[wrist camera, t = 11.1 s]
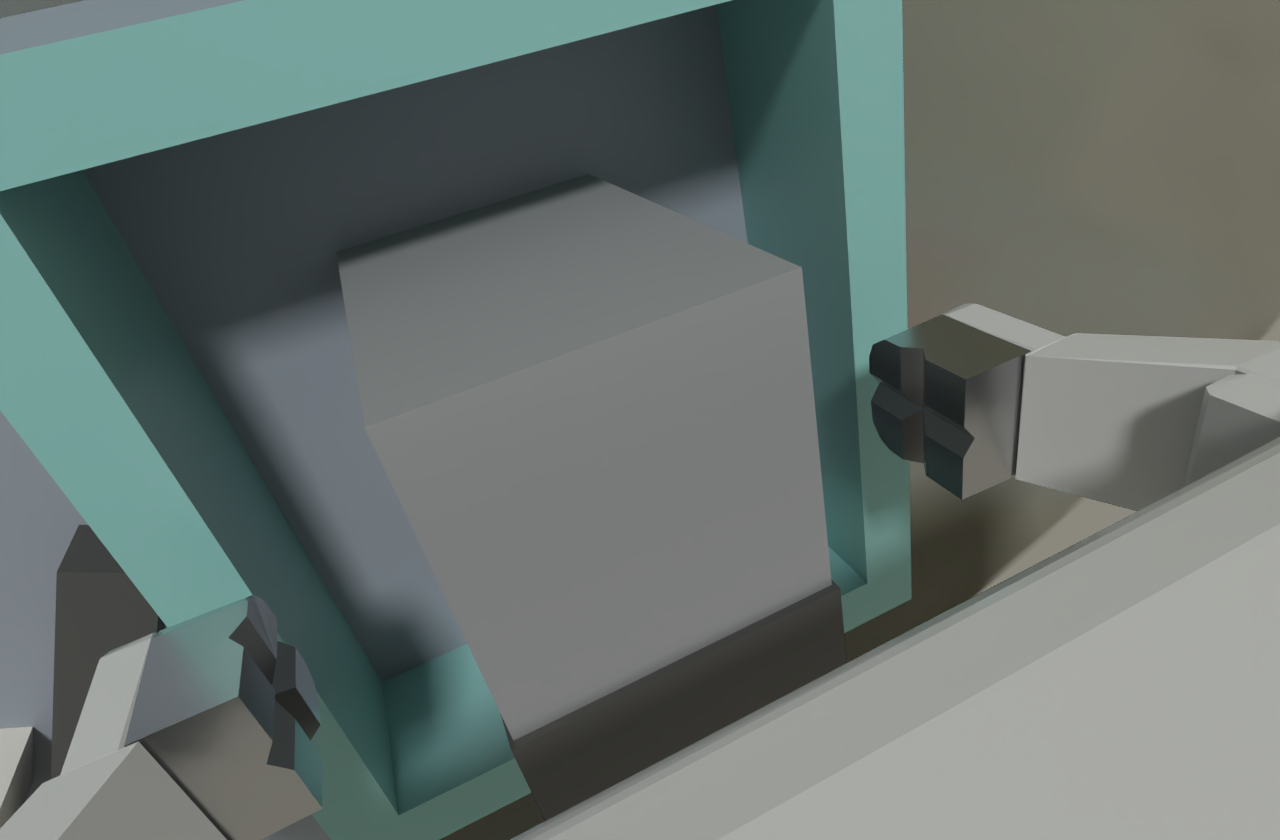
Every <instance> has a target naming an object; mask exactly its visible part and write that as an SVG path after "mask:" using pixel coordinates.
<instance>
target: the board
mask: <svg viewBox="0 0 1280 840" xmlns="http://www.w3.org/2000/svg"><path fill="white" fill-rule="evenodd" d="M239 1H244V0H84V1H80V2H75V3H70V4H66V5H61V6H56V7H51V8H47V9H42V10H37V11H32V12H28V13H23V14H18V15H14V16H9V17H4V18H0V54H5V53H9V52H14V51H18V50H23V49H27V48H32V47H37V46H41V45H46V44H50V43H55V42H59V41H64V40H68V39H73V38H77V37H82V36H86V35H91V34H95V33H100V32H104V31H109V30H113V29H118V28H122V27H127V26H131V25H136V24H140V23H145V22H149V21H154V20H158V19H163V18H167V17H172V16H176V15H181V14H185V13H190V12H194V11H199V10H203V9H208V8H212V7H217V6H221V5H226V4H230V3H235V2H239ZM83 172H84V173H85V175H86V177H87V179H88V180H89V182H90V184H91V185H92V187H93V189H94V191H95V192H96V194H97V196H98V197H99V199H100V201H101V202H102V204H103V206H104V208H105V209H106V211H107V213H108V214H109V216H110V218H111V220H112V221H113V223H114V225H115V226H116V228H117V230H118V232H119V233H120V235H121V237H122V238H123V240H124V242H125V243H126V245H127V247H128V249H129V250H130V252H131V254H132V255H133V257H134V259H135V261H136V262H137V264H138V266H139V267H140V269H141V271H142V273H143V274H144V276H145V278H146V279H147V281H148V283H149V284H150V286H151V288H152V290H153V291H154V293H155V295H156V296H157V298H158V300H159V302H160V303H161V305H162V307H163V308H164V310H165V312H166V314H167V315H168V317H169V319H170V320H171V322H172V324H173V325H174V327H175V329H176V331H177V332H178V334H179V336H180V337H181V339H182V341H183V343H184V344H185V346H186V348H187V349H188V351H189V353H190V355H191V356H192V358H193V360H194V361H195V363H196V365H197V367H198V368H199V370H200V372H201V373H202V375H203V377H204V378H205V380H206V382H207V384H208V385H209V387H210V389H211V390H212V392H213V394H214V396H215V397H216V399H217V401H218V402H219V404H220V406H221V408H222V409H223V411H224V413H225V414H226V416H227V418H228V419H229V421H230V423H231V425H232V426H233V428H234V430H235V431H236V433H237V435H238V437H239V438H240V440H241V442H242V443H243V445H244V447H245V449H246V450H247V452H248V454H249V455H250V457H251V459H252V460H253V462H254V464H255V466H256V467H257V469H258V471H259V472H260V474H261V476H262V478H263V479H264V481H265V483H266V484H267V486H268V488H269V490H270V491H271V493H272V495H273V496H274V498H275V500H276V502H277V503H278V505H279V507H280V508H281V510H282V512H283V513H284V515H285V517H286V519H287V520H288V522H289V524H290V525H291V527H292V529H293V531H294V532H295V534H296V536H297V537H298V539H299V541H300V543H301V544H302V546H303V548H304V549H305V551H306V553H307V554H308V556H309V558H310V560H311V561H312V563H313V565H314V566H315V568H316V570H317V572H318V573H319V575H320V577H321V578H322V580H323V582H324V584H325V585H326V587H327V589H328V590H329V592H330V594H331V595H332V597H333V599H334V601H335V602H336V604H337V606H338V607H339V609H340V611H341V613H342V614H343V616H344V618H345V619H346V621H347V623H348V625H349V626H350V628H351V630H352V631H353V633H354V635H355V636H356V638H357V640H358V642H359V643H360V645H361V647H362V648H363V650H364V652H365V654H366V655H367V657H368V659H369V660H370V662H371V664H372V666H373V667H374V669H375V671H376V672H377V674H378V676H379V678H380V679H381V681H382V682H383V681H385V680H387V679H390V678H392V677H394V676H396V675H399V674H401V673H403V672H405V671H407V670H410V669H412V668H414V667H416V666H419V665H421V664H423V663H425V662H427V661H430V660H432V659H434V658H436V657H439V656H441V655H443V654H445V653H447V652H450V651H452V650H454V649H456V648H459V647H461V646H463V645H465V644H467V642H466V640H465V638H464V636H463V634H462V631H461V629H460V627H459V625H458V623H457V621H456V619H455V617H454V615H453V613H452V610H451V608H450V606H449V604H448V602H447V600H446V598H445V596H444V594H443V592H442V589H441V587H440V585H439V583H438V581H437V579H436V577H435V575H434V573H433V570H432V568H431V566H430V564H429V562H428V560H427V558H426V556H425V554H424V552H423V549H422V547H421V545H420V543H419V541H418V539H417V537H416V535H415V533H414V531H413V528H412V526H411V524H410V522H409V520H408V518H407V516H406V514H405V512H404V509H403V507H402V505H401V503H400V501H399V499H398V497H397V495H396V493H395V491H394V488H393V486H392V484H391V482H390V480H389V478H388V476H387V474H386V472H385V470H384V467H383V465H382V463H381V461H380V459H379V457H378V455H377V453H376V451H375V448H374V446H373V444H372V442H371V440H370V438H369V436H368V434H367V432H366V430H365V427H364V420H363V414H362V408H361V402H360V396H359V390H358V384H357V377H356V371H355V365H354V359H353V353H352V347H351V341H350V334H349V328H348V322H347V316H346V310H345V304H344V298H343V291H342V285H341V279H340V273H339V267H338V261H337V255H336V252H338V251H341V250H344V249H348V248H351V247H354V246H357V245H361V244H364V243H367V242H370V241H373V240H377V239H380V238H383V237H386V236H390V235H393V234H396V233H399V232H403V231H406V230H409V229H412V228H416V227H419V226H422V225H425V224H429V223H432V222H435V221H438V220H442V219H445V218H448V217H451V216H455V215H458V214H461V213H464V212H468V211H471V210H474V209H477V208H480V207H484V206H487V205H490V204H493V203H497V202H500V201H503V200H506V199H510V198H513V197H516V196H519V195H523V194H526V193H529V192H532V191H536V190H539V189H542V188H545V187H549V186H552V185H555V184H558V183H562V182H565V181H568V180H571V179H575V178H578V177H581V176H584V175H588V174H590V175H592V176H595V177H597V178H599V179H602V180H604V181H606V182H608V183H611V184H613V185H615V186H617V187H620V188H622V189H624V190H627V191H629V192H631V193H633V194H636V195H638V196H640V197H643V198H645V199H647V200H649V201H652V202H654V203H656V204H659V205H661V206H663V207H665V208H668V209H670V210H672V211H675V212H677V213H679V214H681V215H684V216H686V217H688V218H690V219H693V220H695V221H697V222H700V223H702V224H704V225H706V226H709V227H711V228H713V229H716V230H718V231H720V232H722V233H725V234H727V235H729V236H732V237H734V238H736V239H738V240H741V241H743V242H745V243H747V244H748V242H747V234H746V226H745V219H744V211H743V204H742V196H741V188H740V181H739V173H738V166H737V158H736V150H735V143H734V135H733V128H732V120H731V112H730V105H729V97H728V90H727V82H726V74H725V67H724V59H723V51H722V44H721V36H720V29H719V21H718V13H717V6H716V5H712V6H708V7H704V8H701V9H697V10H693V11H689V12H685V13H681V14H678V15H674V16H670V17H666V18H662V19H658V20H655V21H651V22H647V23H643V24H639V25H635V26H632V27H628V28H624V29H620V30H616V31H612V32H609V33H605V34H601V35H597V36H593V37H589V38H586V39H582V40H578V41H574V42H570V43H567V44H563V45H559V46H555V47H551V48H547V49H544V50H540V51H536V52H532V53H528V54H524V55H521V56H517V57H513V58H509V59H505V60H501V61H498V62H494V63H490V64H486V65H482V66H478V67H475V68H471V69H467V70H463V71H459V72H455V73H452V74H448V75H444V76H440V77H436V78H432V79H429V80H425V81H421V82H417V83H413V84H409V85H406V86H402V87H398V88H394V89H390V90H386V91H383V92H379V93H375V94H371V95H367V96H363V97H360V98H356V99H352V100H348V101H344V102H340V103H337V104H333V105H329V106H325V107H321V108H317V109H314V110H310V111H306V112H302V113H298V114H294V115H291V116H287V117H283V118H279V119H275V120H271V121H268V122H264V123H260V124H256V125H252V126H248V127H245V128H241V129H237V130H233V131H229V132H225V133H222V134H218V135H214V136H210V137H206V138H202V139H199V140H195V141H191V142H187V143H183V144H179V145H176V146H172V147H168V148H164V149H160V150H157V151H153V152H149V153H145V154H141V155H137V156H134V157H130V158H126V159H122V160H118V161H114V162H111V163H107V164H103V165H99V166H95V167H91V168H88V169H84V170H83ZM79 525H88V524H87V522H86V521H85V520H84V519H83V517H82V516H81V515H80V513H79V512H78V511H77V509H76V508H75V507H74V506H73V504H72V503H71V502H70V500H69V499H68V498H67V496H66V495H65V494H64V493H63V491H62V490H61V489H60V487H59V486H58V485H57V484H56V482H55V481H54V480H53V478H52V477H51V476H50V474H49V473H48V472H47V471H46V469H45V468H44V467H43V465H42V464H41V463H40V461H39V460H38V459H37V458H36V456H35V455H34V454H33V452H32V451H31V450H30V448H29V447H28V446H27V445H26V443H25V442H24V441H23V439H22V438H21V437H20V435H19V434H18V433H17V432H16V430H15V429H14V428H13V426H12V425H11V424H10V423H9V421H8V420H7V419H6V417H5V416H4V415H3V413H2V412H1V411H0V828H1V827H2V826H3V825H4V824H5V823H6V822H7V821H8V820H9V819H10V818H11V817H12V816H13V814H14V813H15V812H16V811H17V810H18V809H19V808H20V807H21V806H22V805H23V804H24V803H25V802H26V801H27V799H28V798H29V797H30V796H31V795H32V794H33V793H34V792H35V791H36V790H37V789H38V788H39V787H40V785H41V784H42V783H44V782H47V781H49V780H51V756H52V720H53V685H54V649H55V613H56V577H57V570H58V568H59V566H60V564H61V562H62V560H63V558H64V555H65V553H66V551H67V549H68V547H69V545H70V543H71V541H72V538H73V536H74V534H75V532H76V530H77V528H78V526H79ZM165 628H167V626H166V625H165ZM262 840H331V839H330V838H329V837H328V835H327V834H326V833H325V831H324V830H323V829H322V828H321V826H320V825H319V824H318V822H317V821H316V820H315V818H314V817H313V816H312V815H309V816H307V817H305V818H303V819H301V820H299V821H297V822H295V823H293V824H291V825H289V826H287V827H285V828H283V829H281V830H279V831H277V832H275V833H274V834H272V835H270V836H268V837H266V838H264V839H262Z"/></svg>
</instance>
